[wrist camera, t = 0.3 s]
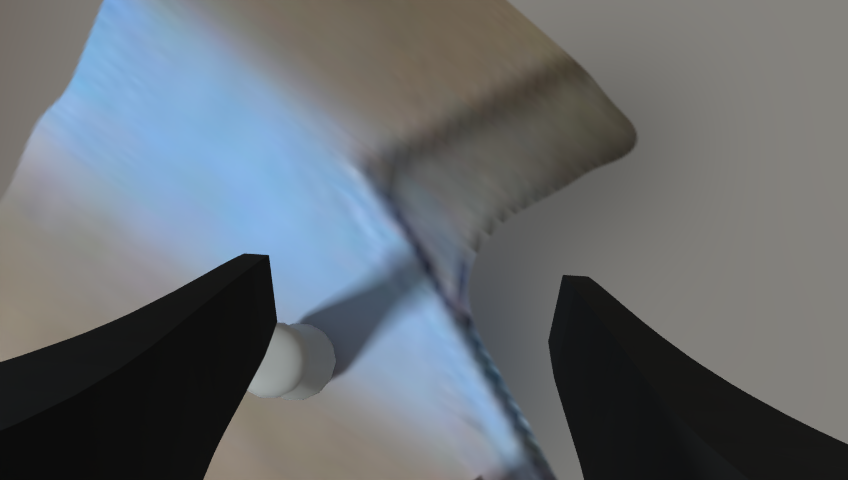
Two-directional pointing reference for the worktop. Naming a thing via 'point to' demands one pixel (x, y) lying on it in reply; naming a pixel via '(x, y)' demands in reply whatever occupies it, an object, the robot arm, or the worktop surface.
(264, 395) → the salt shaker
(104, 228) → the worktop surface
